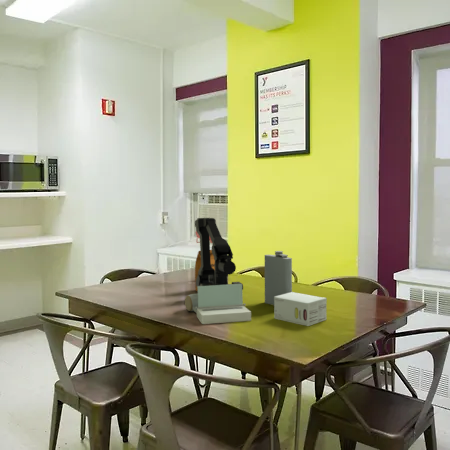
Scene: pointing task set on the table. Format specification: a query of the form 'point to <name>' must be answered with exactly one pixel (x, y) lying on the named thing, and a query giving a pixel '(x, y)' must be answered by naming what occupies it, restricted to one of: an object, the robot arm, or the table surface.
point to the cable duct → (223, 314)
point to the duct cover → (220, 296)
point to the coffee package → (198, 265)
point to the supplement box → (300, 308)
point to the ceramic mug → (191, 302)
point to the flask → (277, 276)
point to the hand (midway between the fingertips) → (221, 305)
